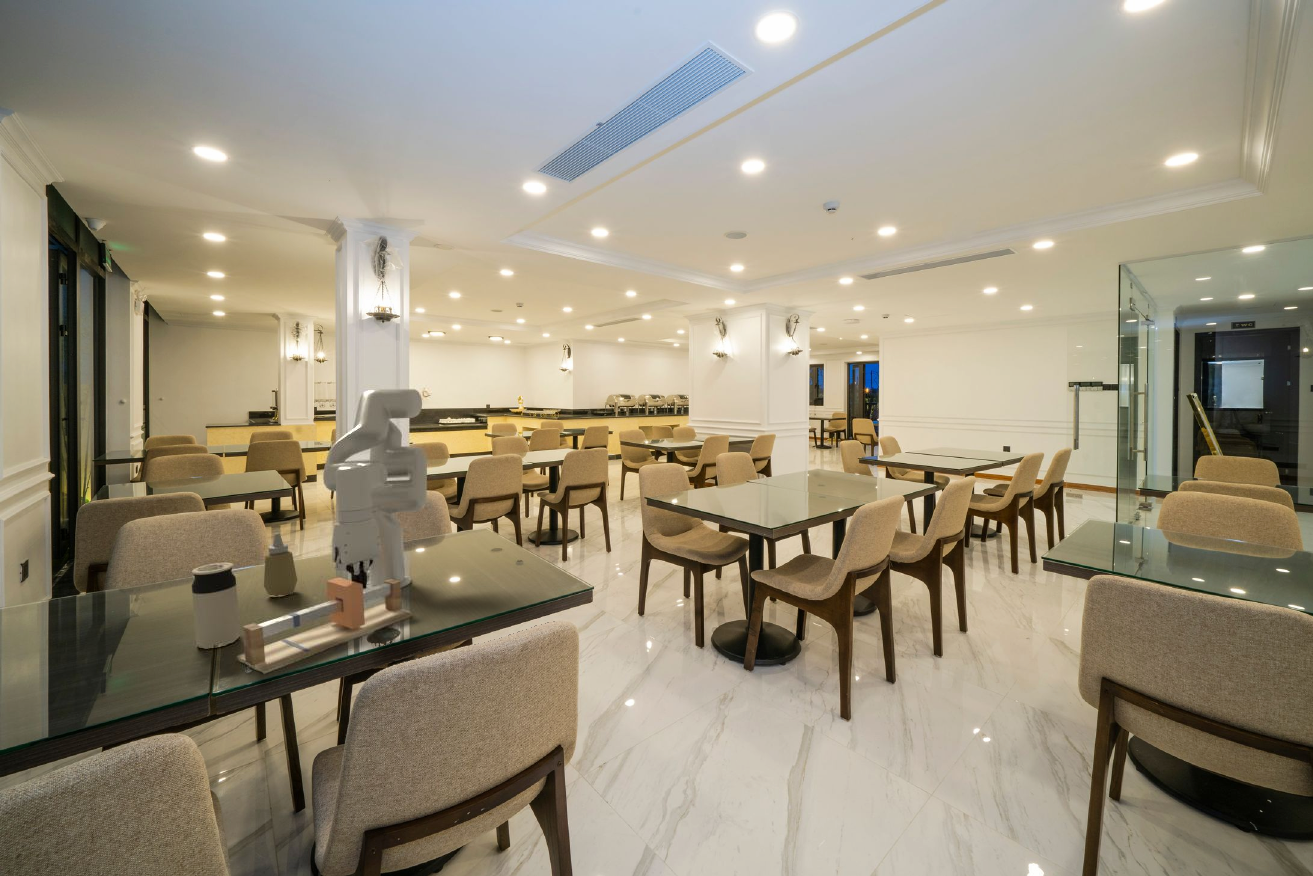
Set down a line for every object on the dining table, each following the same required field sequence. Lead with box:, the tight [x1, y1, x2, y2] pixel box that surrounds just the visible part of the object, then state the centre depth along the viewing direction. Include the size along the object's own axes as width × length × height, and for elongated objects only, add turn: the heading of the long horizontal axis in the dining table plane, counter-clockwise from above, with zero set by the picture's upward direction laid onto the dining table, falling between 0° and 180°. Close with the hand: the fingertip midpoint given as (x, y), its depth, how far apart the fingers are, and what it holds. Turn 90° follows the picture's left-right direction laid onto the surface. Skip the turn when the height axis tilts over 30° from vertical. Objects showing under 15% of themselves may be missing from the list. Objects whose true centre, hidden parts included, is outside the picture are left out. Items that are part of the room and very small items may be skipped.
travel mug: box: [191, 562, 241, 646], centre depth 127 cm, size 8×8×18 cm
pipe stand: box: [236, 579, 412, 671], centre depth 130 cm, size 12×34×8 cm, turn 149°
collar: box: [326, 576, 365, 629], centre depth 133 cm, size 10×3×10 cm, turn 59°
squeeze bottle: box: [263, 532, 298, 596], centre depth 158 cm, size 8×8×18 cm
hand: (359, 588), depth 136 cm, fingers closed
